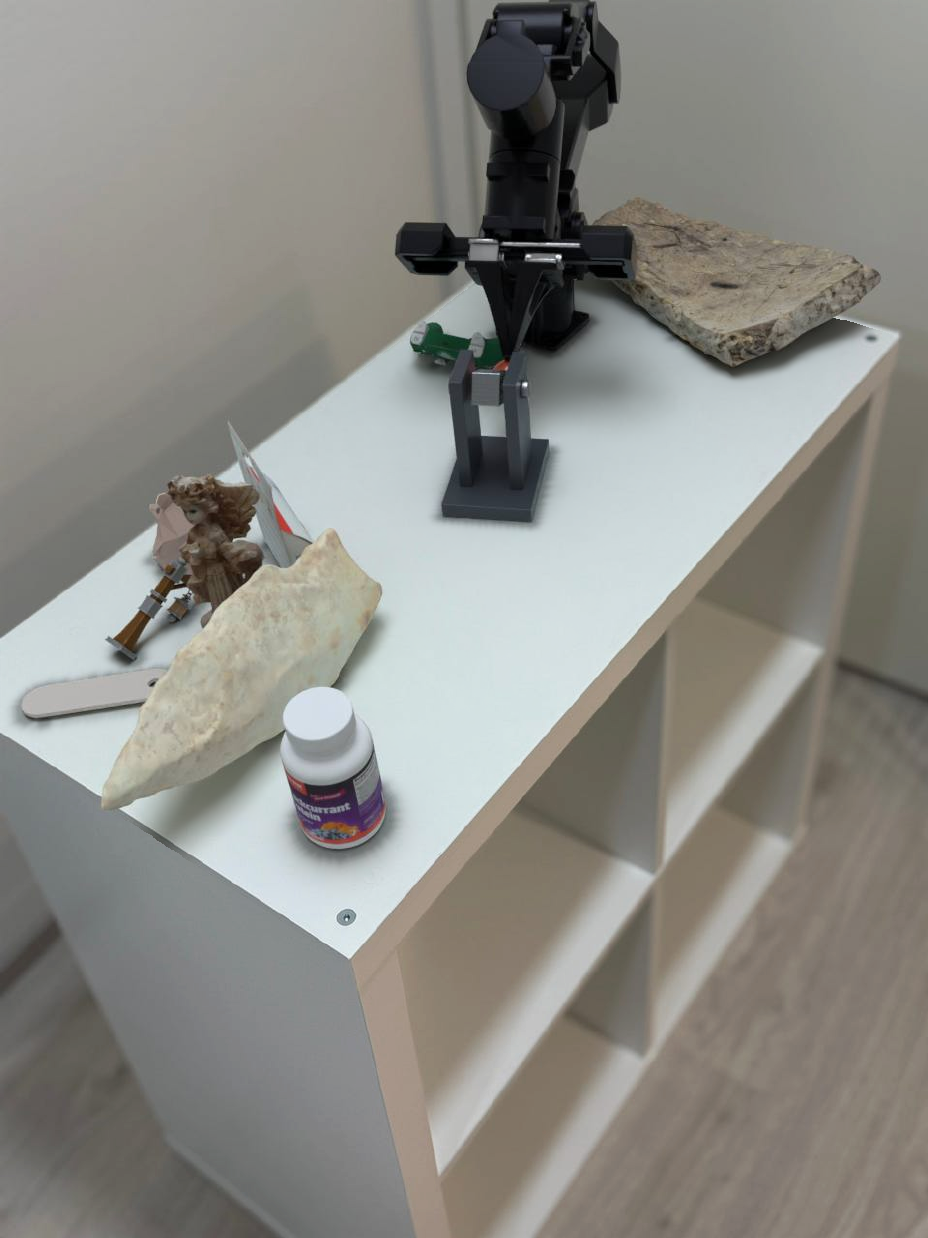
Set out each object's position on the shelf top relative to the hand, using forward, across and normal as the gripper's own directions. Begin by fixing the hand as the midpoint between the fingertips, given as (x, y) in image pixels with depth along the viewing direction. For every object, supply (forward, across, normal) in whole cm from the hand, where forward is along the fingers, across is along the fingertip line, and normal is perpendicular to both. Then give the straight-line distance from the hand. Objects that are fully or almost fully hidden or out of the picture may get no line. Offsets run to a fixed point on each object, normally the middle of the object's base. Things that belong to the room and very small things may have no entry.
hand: (508, 358), depth 100 cm
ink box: (+18, +13, +9) cm, 24 cm away
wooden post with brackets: (+23, +22, +14) cm, 35 cm away
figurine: (+24, +14, +15) cm, 32 cm away
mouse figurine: (+18, +21, +8) cm, 29 cm away
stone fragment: (-8, -9, -13) cm, 17 cm away
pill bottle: (+34, +4, +24) cm, 41 cm away
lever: (+4, 0, +2) cm, 5 cm away
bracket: (+10, 0, 0) cm, 10 cm away
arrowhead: (+18, +9, +14) cm, 24 cm away
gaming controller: (-2, +6, -12) cm, 14 cm away
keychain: (+29, +23, +20) cm, 42 cm away
